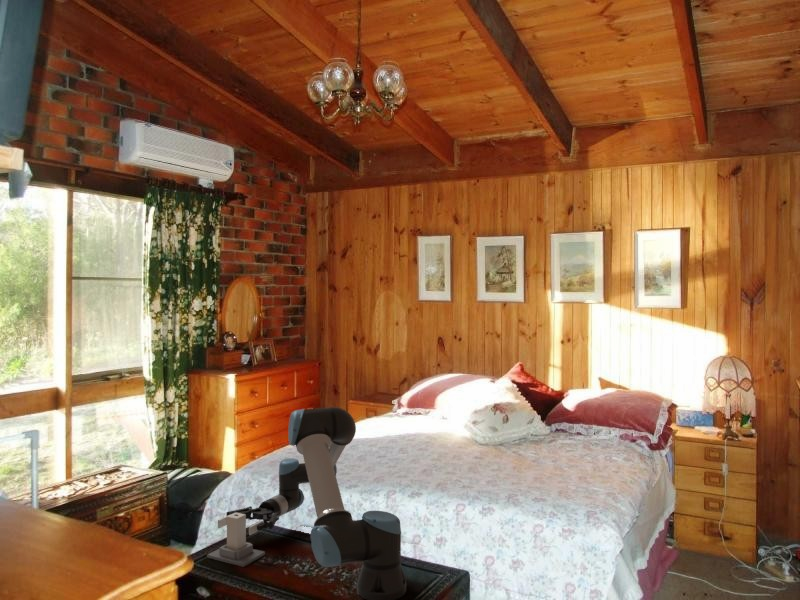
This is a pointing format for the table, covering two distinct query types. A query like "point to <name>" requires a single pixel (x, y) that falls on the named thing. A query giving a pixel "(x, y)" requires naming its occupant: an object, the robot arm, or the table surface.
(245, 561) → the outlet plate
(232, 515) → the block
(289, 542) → the table surface
